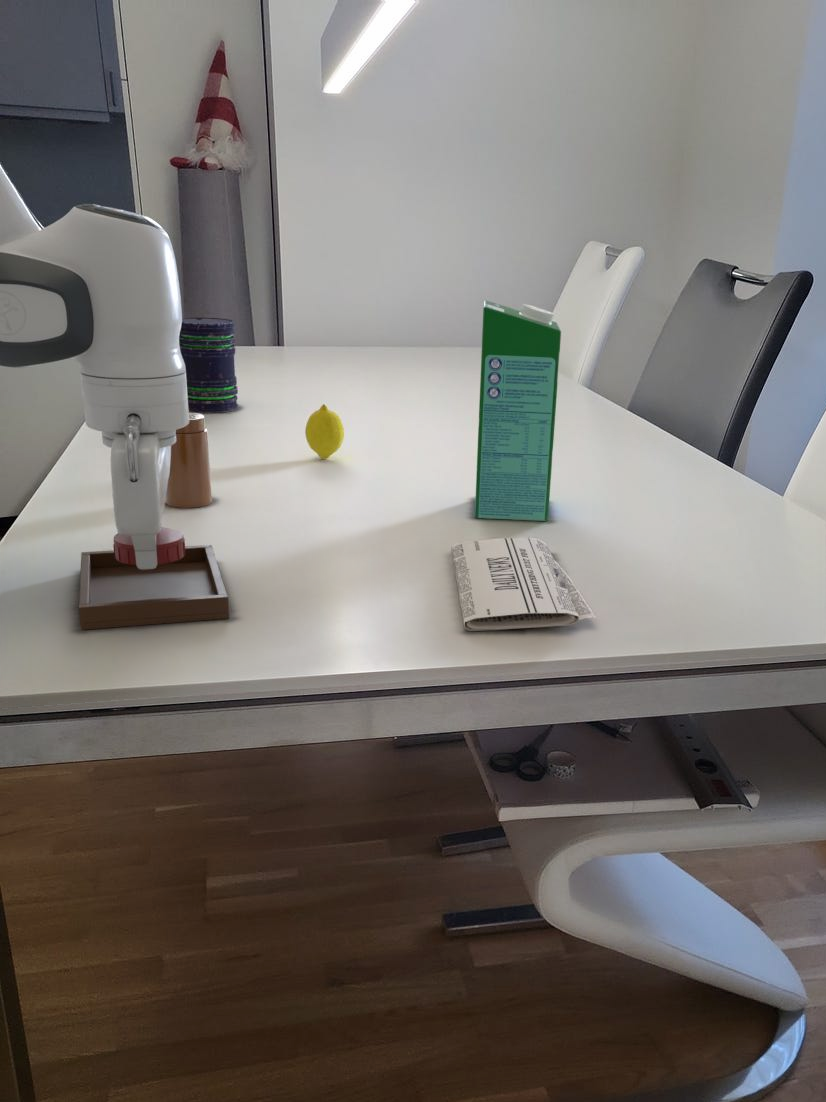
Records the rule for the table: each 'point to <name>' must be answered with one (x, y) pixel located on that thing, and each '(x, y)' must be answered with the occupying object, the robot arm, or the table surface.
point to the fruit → (324, 432)
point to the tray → (150, 590)
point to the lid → (166, 541)
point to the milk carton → (516, 412)
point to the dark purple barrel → (209, 364)
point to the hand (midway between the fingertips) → (149, 553)
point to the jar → (190, 466)
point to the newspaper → (514, 586)
